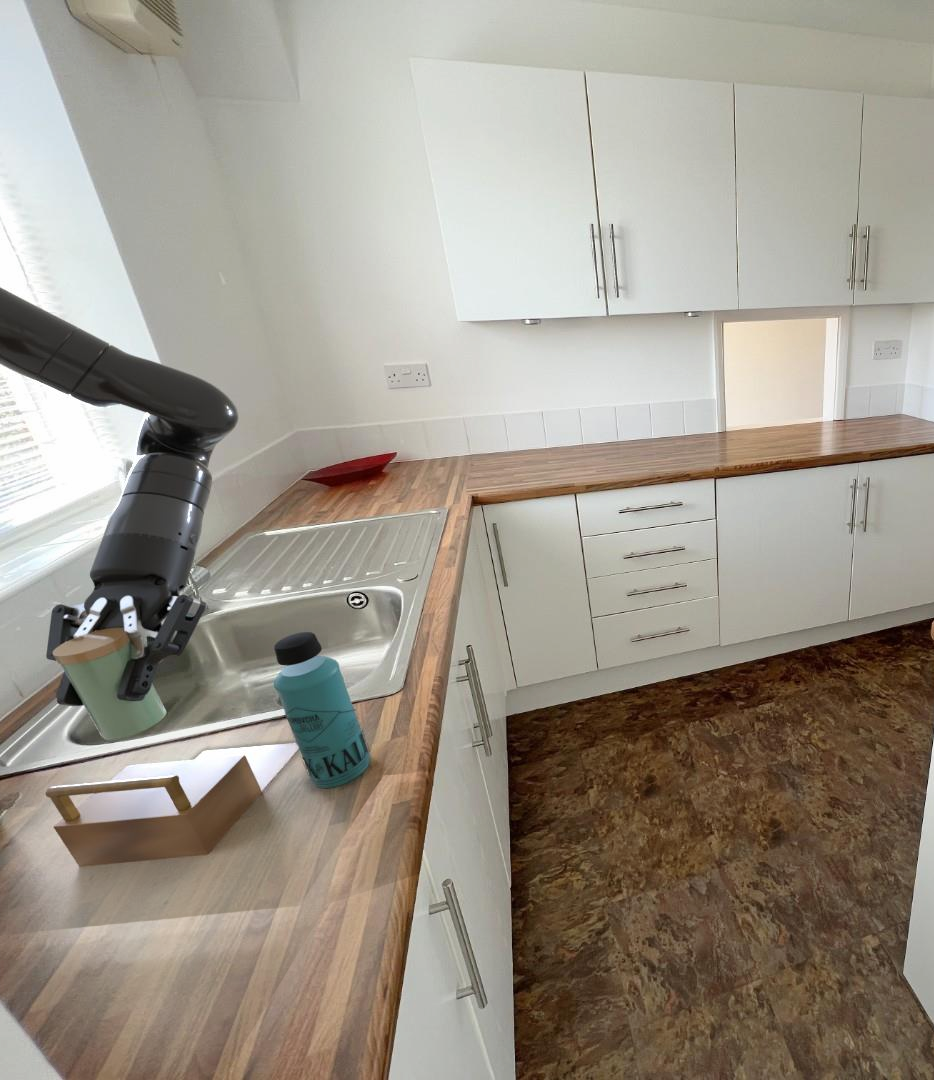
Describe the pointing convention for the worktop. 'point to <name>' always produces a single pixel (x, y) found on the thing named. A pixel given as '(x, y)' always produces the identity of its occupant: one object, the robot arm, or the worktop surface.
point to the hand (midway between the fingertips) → (100, 701)
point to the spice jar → (107, 683)
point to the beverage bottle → (319, 712)
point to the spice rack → (165, 805)
